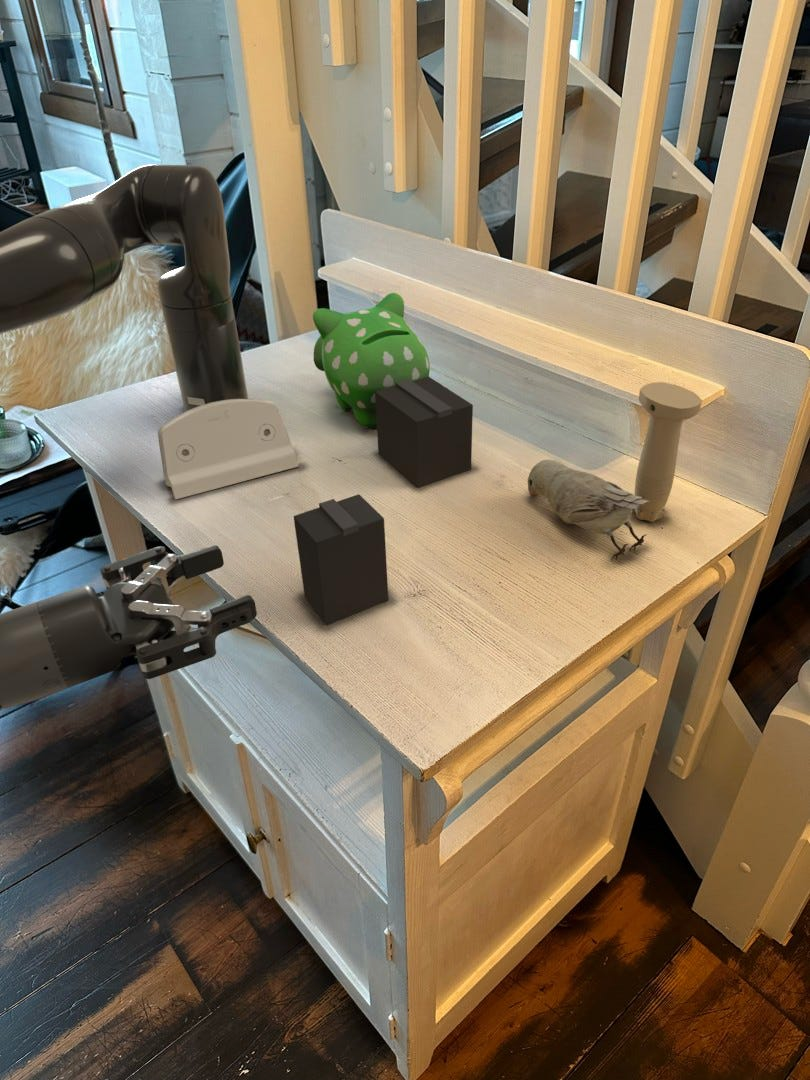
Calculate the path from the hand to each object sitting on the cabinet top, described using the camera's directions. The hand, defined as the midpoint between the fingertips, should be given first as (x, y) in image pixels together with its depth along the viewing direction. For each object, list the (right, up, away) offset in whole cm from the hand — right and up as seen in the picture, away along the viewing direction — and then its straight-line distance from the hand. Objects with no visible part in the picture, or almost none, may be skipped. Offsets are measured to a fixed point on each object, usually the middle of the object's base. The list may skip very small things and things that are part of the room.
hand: (237, 579), depth 68 cm
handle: (+43, +6, +19) cm, 47 cm away
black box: (+9, -2, +8) cm, 13 cm away
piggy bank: (+11, +23, +43) cm, 50 cm away
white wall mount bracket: (-7, +12, +30) cm, 33 cm away
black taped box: (+18, +14, +30) cm, 37 cm away
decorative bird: (+35, +5, +18) cm, 39 cm away
